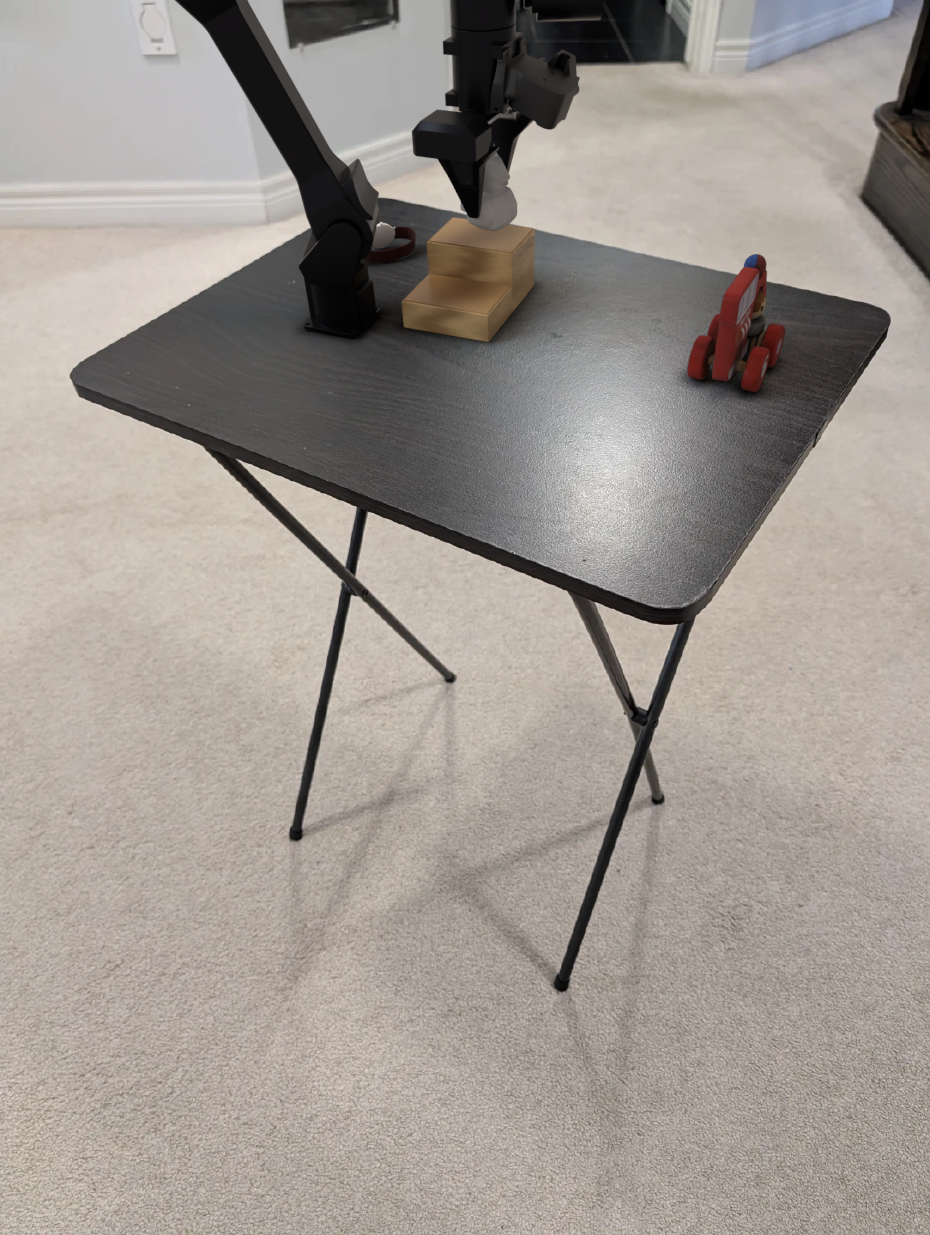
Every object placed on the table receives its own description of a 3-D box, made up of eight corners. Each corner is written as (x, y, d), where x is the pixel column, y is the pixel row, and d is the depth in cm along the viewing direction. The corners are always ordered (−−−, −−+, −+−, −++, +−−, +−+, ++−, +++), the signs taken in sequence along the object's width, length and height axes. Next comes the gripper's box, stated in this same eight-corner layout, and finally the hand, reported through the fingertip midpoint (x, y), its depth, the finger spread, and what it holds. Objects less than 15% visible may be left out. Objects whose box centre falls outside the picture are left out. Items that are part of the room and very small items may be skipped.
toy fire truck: (785, 348, 91) (810, 246, 83) (749, 408, 83) (772, 302, 76) (719, 334, 93) (737, 234, 86) (678, 391, 86) (693, 287, 78)
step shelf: (403, 327, 97) (397, 267, 92) (455, 273, 106) (452, 216, 101) (488, 342, 94) (487, 281, 89) (534, 285, 103) (535, 227, 98)
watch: (408, 241, 112) (406, 212, 110) (423, 255, 109) (421, 225, 107) (351, 255, 110) (347, 225, 108) (365, 269, 107) (361, 239, 105)
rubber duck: (501, 243, 88) (501, 156, 82) (445, 230, 90) (441, 145, 84) (528, 223, 91) (530, 138, 85) (473, 211, 93) (471, 128, 88)
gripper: (528, 59, 70) (525, 256, 81) (605, 5, 81) (593, 184, 92) (402, 48, 73) (416, 238, 84) (493, -2, 85) (495, 171, 96)
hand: (486, 206), depth 89 cm, fingers closed on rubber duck, 5 cm apart
